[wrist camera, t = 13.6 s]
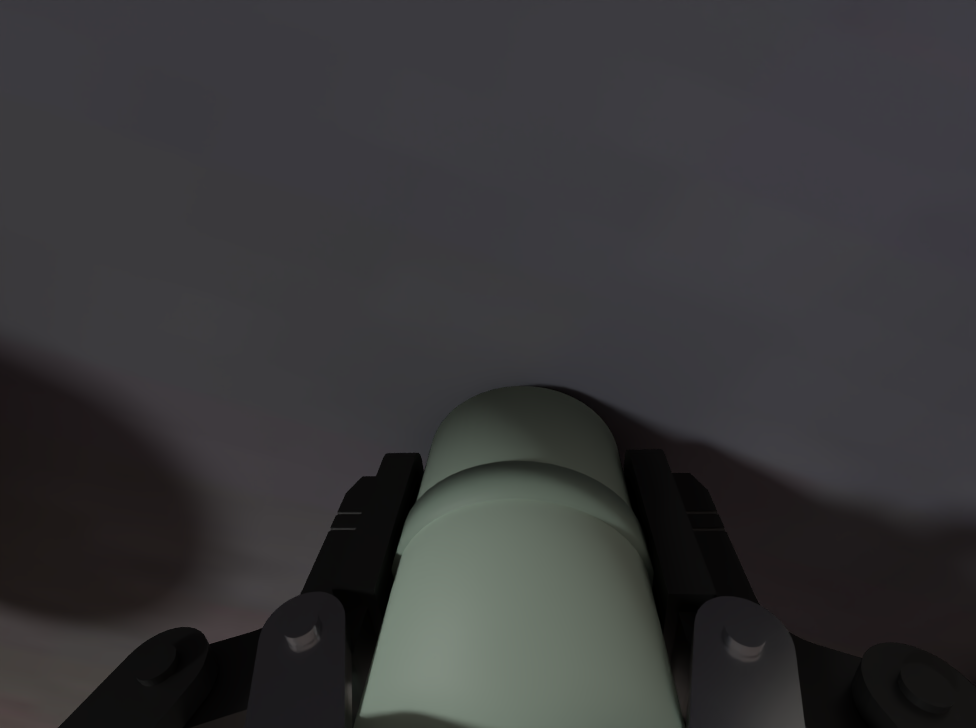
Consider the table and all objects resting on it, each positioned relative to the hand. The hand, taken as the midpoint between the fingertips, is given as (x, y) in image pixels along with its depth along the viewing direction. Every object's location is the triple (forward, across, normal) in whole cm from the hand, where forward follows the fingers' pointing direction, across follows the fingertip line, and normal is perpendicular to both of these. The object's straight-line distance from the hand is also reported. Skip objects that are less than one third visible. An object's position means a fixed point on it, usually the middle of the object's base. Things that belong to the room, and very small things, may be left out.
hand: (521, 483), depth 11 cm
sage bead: (+1, 0, 0) cm, 1 cm away
